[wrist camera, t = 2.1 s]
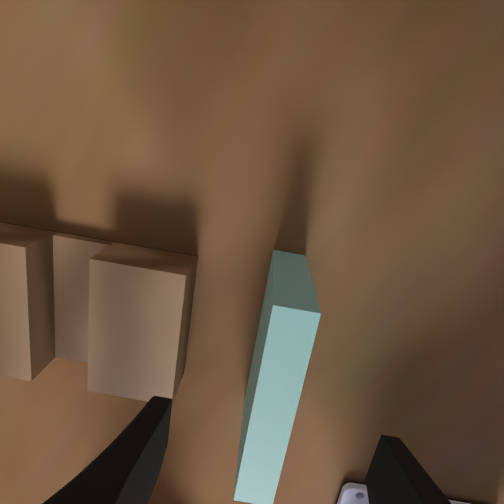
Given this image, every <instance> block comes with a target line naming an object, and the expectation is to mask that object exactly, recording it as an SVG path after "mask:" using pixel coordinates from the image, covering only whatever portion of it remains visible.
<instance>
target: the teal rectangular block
mask: <svg viewBox="0 0 504 504" xmlns="http://www.w3.org/2000/svg"><path fill="white" fill-rule="evenodd" d="M320 316H321V311H320V307H319V304H318V300H317V296H316V292H315V289H314V285H313V281H312V277H311V274H310V270H309V266H308V263H307V259H306V255H300V254H295V253H289V252H283V251H277V250H273V253H272V259H271V264H270V269H269V274H268V279H267V285H266V290H265V295H264V300H263V305H262V311H261V316H260V321H259V326H258V331H257V337H256V342H255V347H254V352H253V357H252V363H251V368H250V373H249V378H248V383H247V389H246V394H245V399H244V409H243V418H242V427H241V436H240V445H239V454H238V464H237V473H236V482H235V491H234V500H236V501H242V502H247V503H253V504H273V501H274V497H275V493H276V489H277V485H278V481H279V477H280V473H281V470H282V466H283V462H284V458H285V454H286V450H287V446H288V442H289V438H290V434H291V430H292V426H293V422H294V418H295V414H296V410H297V407H298V403H299V399H300V395H301V391H302V387H303V383H304V379H305V375H306V371H307V367H308V363H309V359H310V355H311V351H312V347H313V344H314V340H315V336H316V332H317V328H318V324H319V320H320Z"/></svg>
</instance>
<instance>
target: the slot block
mask: <svg viewBox="0 0 504 504" xmlns="http://www.w3.org/2000/svg"><path fill="white" fill-rule="evenodd" d="M197 260H198V256H192V255H186V254H180V253H175V252H169V251H163V250H157V249H152V248H146V247H140V246H134V245H128V244H123V243H117V242H111V241H105V240H100V239H94V238H88V237H82V236H77V235H71V234H65V233H59V232H54V231H48V230H42V229H36V228H31V227H25V226H19V225H13V224H8V223H2V222H0V376H5V377H11V378H16V379H22V380H28V381H32V380H33V379H34V378H35V377H36V376H37V375H38V374H39V373H40V372H41V371H42V370H43V369H44V368H45V367H46V366H47V365H48V364H49V363H50V362H51V361H52V360H53V359H54V358H55V357H58V358H64V359H70V360H75V361H81V362H87V363H88V387H87V391H90V392H96V393H102V394H108V395H113V396H119V397H125V398H130V399H136V400H142V401H149V400H150V399H151V398H152V397H153V396H159V397H165V398H171V399H172V403H173V401H174V398H175V395H176V393H177V390H178V387H179V385H180V382H181V379H182V377H183V374H184V367H185V359H186V351H187V343H188V334H189V326H190V318H191V309H192V301H193V293H194V285H195V276H196V268H197Z"/></svg>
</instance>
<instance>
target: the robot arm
mask: <svg viewBox="0 0 504 504" xmlns="http://www.w3.org/2000/svg"><path fill="white" fill-rule="evenodd" d="M171 407H172V399H171V398H165V397H159V396H153V397H152V398H151V399H150V400H149V401H148V403H147V404H146V405H145V406H144V408H143V409H142V410H141V411H140V413H139V414H138V415H137V416H136V417H135V418H134V419H133V421H132V422H131V423H130V424H129V425H128V426H127V427H126V428H125V429H124V430H123V432H122V433H121V434H120V435H119V436H118V437H117V438H116V439H115V440H114V441H113V442H112V443H111V444H110V445H109V446H108V447H107V448H106V449H105V450H104V451H103V452H102V453H101V454H100V455H99V456H98V457H97V458H96V459H95V460H94V461H92V462H91V463H90V464H89V465H88V466H87V467H86V468H85V469H84V470H83V471H82V472H80V473H79V474H78V475H77V476H76V477H75V478H74V479H72V480H71V481H70V482H69V483H68V484H66V485H65V486H64V487H63V488H62V489H60V490H59V491H58V492H57V493H55V494H54V495H53V496H52V497H50V498H49V499H48V500H46V501H45V502H44V503H42V504H147V503H148V500H149V498H150V495H151V493H152V490H153V488H154V485H155V483H156V480H157V478H158V475H159V471H160V468H161V465H162V461H163V458H164V454H165V451H166V447H167V443H168V434H169V425H170V416H171ZM365 480H366V485H363V484H357V483H346V484H345V485H344V486H343V487H342V490H341V493H340V496H339V499H338V502H337V504H471V503H465V502H459V501H454V500H448V499H447V498H446V496H445V495H444V494H443V493H442V491H441V490H440V489H439V488H438V487H437V485H436V484H435V483H434V482H433V480H432V479H431V478H430V476H429V475H428V474H427V473H426V471H425V470H424V469H423V468H422V466H421V465H420V464H419V462H418V461H417V460H416V459H415V457H414V456H413V455H412V453H411V452H410V451H409V450H408V448H407V447H406V446H405V445H404V443H403V442H402V441H401V440H400V438H397V437H391V436H385V435H381V437H380V440H379V443H378V445H377V448H376V451H375V454H374V456H373V459H372V462H371V465H370V468H369V470H368V473H367V476H366V479H365Z"/></svg>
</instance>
